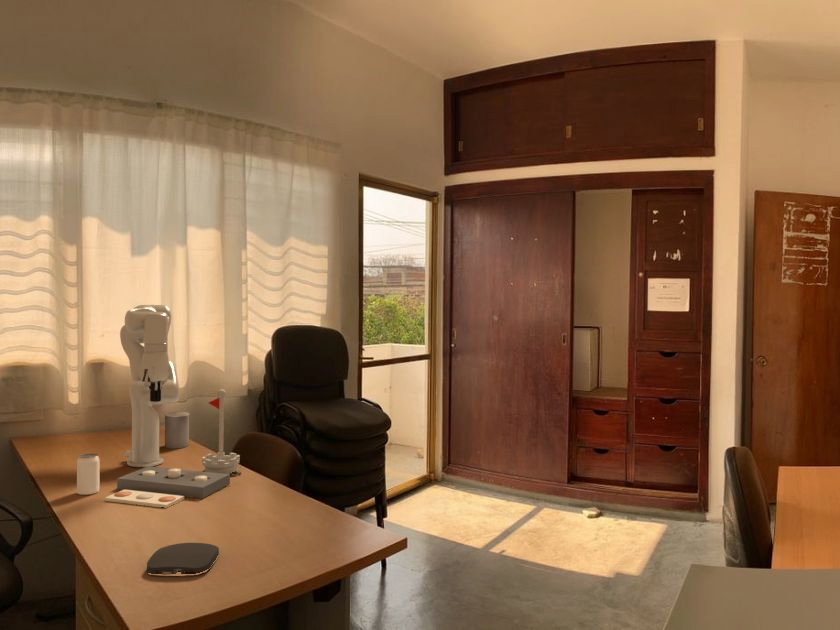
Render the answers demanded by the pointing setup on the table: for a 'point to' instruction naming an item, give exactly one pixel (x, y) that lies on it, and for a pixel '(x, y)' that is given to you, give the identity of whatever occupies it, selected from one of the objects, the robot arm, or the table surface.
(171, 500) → the pattern card
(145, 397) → the robot arm
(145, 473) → the left button
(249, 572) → the table surface
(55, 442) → the table surface
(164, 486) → the button panel
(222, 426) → the flag stand
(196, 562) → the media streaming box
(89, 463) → the can
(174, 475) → the middle button
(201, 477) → the right button
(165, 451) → the table surface
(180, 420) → the pillar candle
